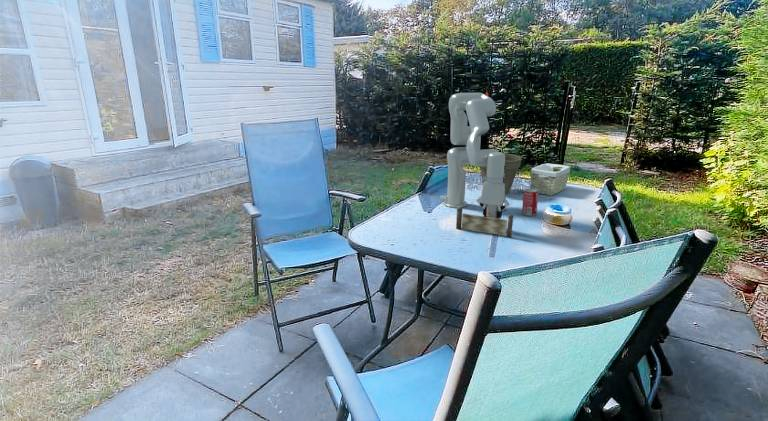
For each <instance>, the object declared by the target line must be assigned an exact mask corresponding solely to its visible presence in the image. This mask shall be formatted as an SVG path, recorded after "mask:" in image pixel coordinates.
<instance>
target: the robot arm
mask: <svg viewBox="0 0 768 421" xmlns="http://www.w3.org/2000/svg"><path fill="white" fill-rule="evenodd" d="M465 111H466V112H465ZM496 111H497V105H496V102H495V101H494V100H493V99H492V97H490V96H488V95H487V94H484V93H482V92H458V93H454V94H452V95H451V96H450V97H449V100H448V112H449V114H450V138H449V139H450V143H451V144H452V145H454V146H457V147H452V148H450V149H449V150H447V154H446V160H447V190H446V191H447V192H446V193H447V194H446V195H444V194H443V195H439V198H440V200H443V204H444V206H446V207H448V208H454V209H457V208H458V207H461V208H465V207H467V206H468V201H465V200H466V199H465V195H466V179H467V178H466V177H467V173H466V171H465V169H464V167H463V166H469V165H471V166H473V167H480V166H487V174H486V176H483V179H485V180H486V182H484V184H483V183H482V190H481V196H479V197H478V198H477V199H476V202H477V203H478V205H479V206H480V207H481V208H482V216H484V217H486V207H487V205H495V206H497V207H498V211H497V218H498V219H501V217H502V211H503V210H504V209H506V208H508V207H509V206H510V203H509V201H508V200H507V199H506V194H505V185H504V183H503V177H504V166H505V155H504V154H503V153H504V152H499V151H498V150H497V149H496V148H495V149H494V148H487V149H481V142H482V141H481V140H482V139H481V138H482V136H483V135H485V134H486V133H487V132H488V131H489V130H490V124H489V121H488V120H489V119H488V117H493V116H494V115H495V114H496ZM468 123H469V126H468ZM458 146H459V147H458ZM460 146H461V147H460Z"/></svg>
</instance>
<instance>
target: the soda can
mask: <svg viewBox="0 0 768 421" xmlns="http://www.w3.org/2000/svg"><path fill="white" fill-rule="evenodd" d="M538 201H539V193H538V190H537V189H531V188H529V187H528V188H525V189H524V191H523V197H522V208H521V213H522V215H523V216H527V217H534V216H536V215H537V213H538V212H537V211H538Z"/></svg>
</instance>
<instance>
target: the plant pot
mask: <svg viewBox="0 0 768 421" xmlns="http://www.w3.org/2000/svg"><path fill="white" fill-rule="evenodd" d="M502 153H503V154H504V155H505V178H504V185H505V195H508V194H509V193H510V191H511V189H512V186H513V184H514V181H515V178H516V175H517V174H518V173H517V172H518V170H519V168H520V167H521V165H522V164H521V162H522V157H521V156H520V155H516V154H512V153H504V152H502ZM479 170H480V175H481V180H482V185H483V184H484V182H486V180H485V179H483V176H486V174H487V166H479Z"/></svg>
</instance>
